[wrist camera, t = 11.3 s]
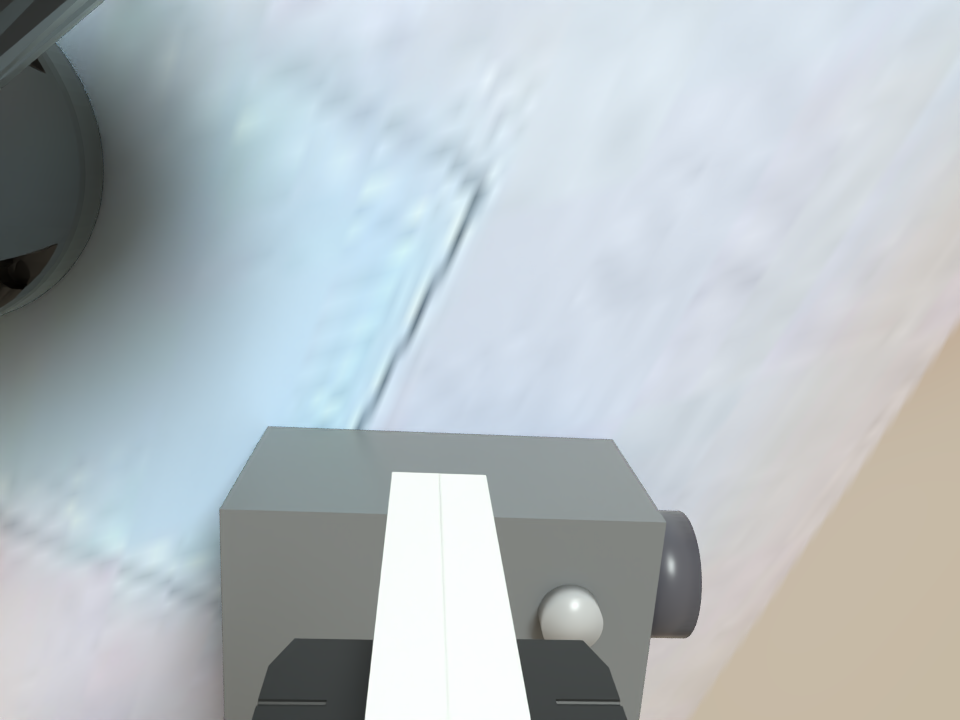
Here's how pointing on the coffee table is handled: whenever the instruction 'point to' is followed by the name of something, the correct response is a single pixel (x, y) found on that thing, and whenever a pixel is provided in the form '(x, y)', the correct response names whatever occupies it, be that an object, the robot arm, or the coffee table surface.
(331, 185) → the coffee table surface
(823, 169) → the coffee table surface
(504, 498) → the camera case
